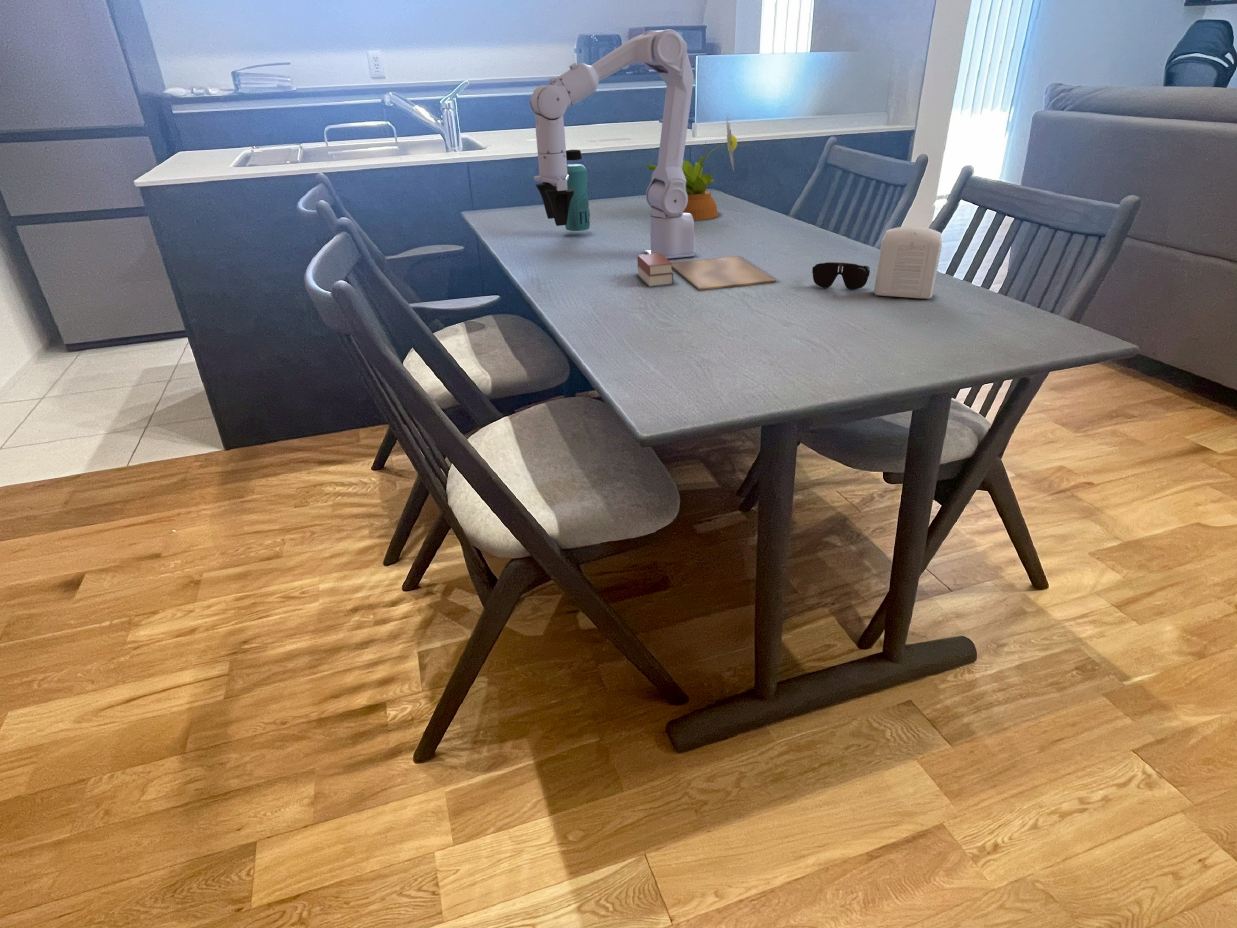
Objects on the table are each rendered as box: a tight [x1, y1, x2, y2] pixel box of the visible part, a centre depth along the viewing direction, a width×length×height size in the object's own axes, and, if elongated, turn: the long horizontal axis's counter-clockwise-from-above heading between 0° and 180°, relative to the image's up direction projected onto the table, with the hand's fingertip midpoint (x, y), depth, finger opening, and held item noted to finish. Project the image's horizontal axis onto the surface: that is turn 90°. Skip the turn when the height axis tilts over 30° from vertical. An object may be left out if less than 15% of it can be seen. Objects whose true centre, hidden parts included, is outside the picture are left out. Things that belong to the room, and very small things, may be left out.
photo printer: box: [873, 225, 943, 300], centre depth 133 cm, size 10×4×12 cm, turn 72°
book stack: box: [637, 253, 674, 288], centre depth 150 cm, size 5×9×4 cm, turn 14°
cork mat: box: [671, 255, 777, 291], centre depth 153 cm, size 16×20×1 cm
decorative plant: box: [645, 114, 738, 221], centre depth 199 cm, size 27×24×25 cm
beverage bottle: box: [564, 149, 591, 232], centre depth 183 cm, size 6×7×20 cm
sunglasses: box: [811, 261, 871, 291], centre depth 145 cm, size 10×12×5 cm
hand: (557, 221), depth 156 cm, fingers open, 7 cm apart
